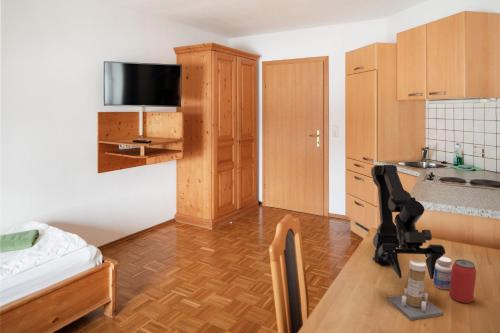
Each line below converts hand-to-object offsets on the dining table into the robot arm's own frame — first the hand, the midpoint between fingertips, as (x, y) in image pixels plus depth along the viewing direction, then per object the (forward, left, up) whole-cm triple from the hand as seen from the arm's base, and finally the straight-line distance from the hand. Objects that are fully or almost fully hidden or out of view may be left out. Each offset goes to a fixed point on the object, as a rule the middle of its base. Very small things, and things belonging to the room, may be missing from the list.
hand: (416, 278), depth 108 cm
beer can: (-18, -1, -10) cm, 20 cm away
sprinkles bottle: (0, 0, -8) cm, 8 cm away
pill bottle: (-18, -9, -10) cm, 22 cm away
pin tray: (0, 0, -9) cm, 9 cm away
